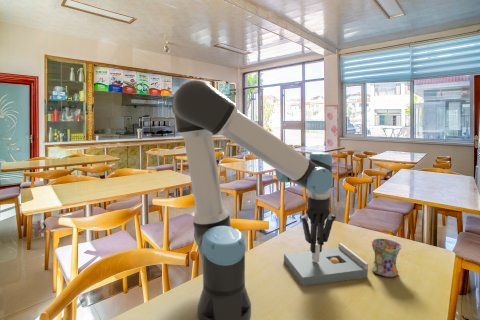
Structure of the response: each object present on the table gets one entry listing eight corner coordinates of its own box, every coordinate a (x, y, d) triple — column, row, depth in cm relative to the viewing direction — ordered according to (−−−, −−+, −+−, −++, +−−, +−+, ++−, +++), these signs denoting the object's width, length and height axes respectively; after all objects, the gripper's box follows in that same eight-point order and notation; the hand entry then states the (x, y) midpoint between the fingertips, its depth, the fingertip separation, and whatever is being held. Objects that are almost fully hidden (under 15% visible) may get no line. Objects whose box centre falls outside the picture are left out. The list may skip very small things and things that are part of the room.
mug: (405, 277, 100) (407, 248, 98) (381, 280, 98) (383, 251, 97) (382, 260, 111) (384, 234, 110) (360, 263, 110) (361, 236, 108)
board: (302, 286, 95) (302, 271, 94) (283, 261, 112) (284, 248, 111) (367, 277, 100) (368, 263, 99) (340, 254, 117) (341, 242, 116)
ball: (330, 267, 104) (335, 258, 104) (325, 262, 108) (330, 254, 108) (337, 271, 105) (343, 263, 105) (332, 266, 109) (337, 258, 109)
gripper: (306, 200, 96) (303, 267, 100) (341, 198, 99) (337, 263, 102) (296, 194, 103) (294, 257, 107) (330, 193, 106) (326, 254, 110)
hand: (315, 260), depth 105 cm, fingers closed
